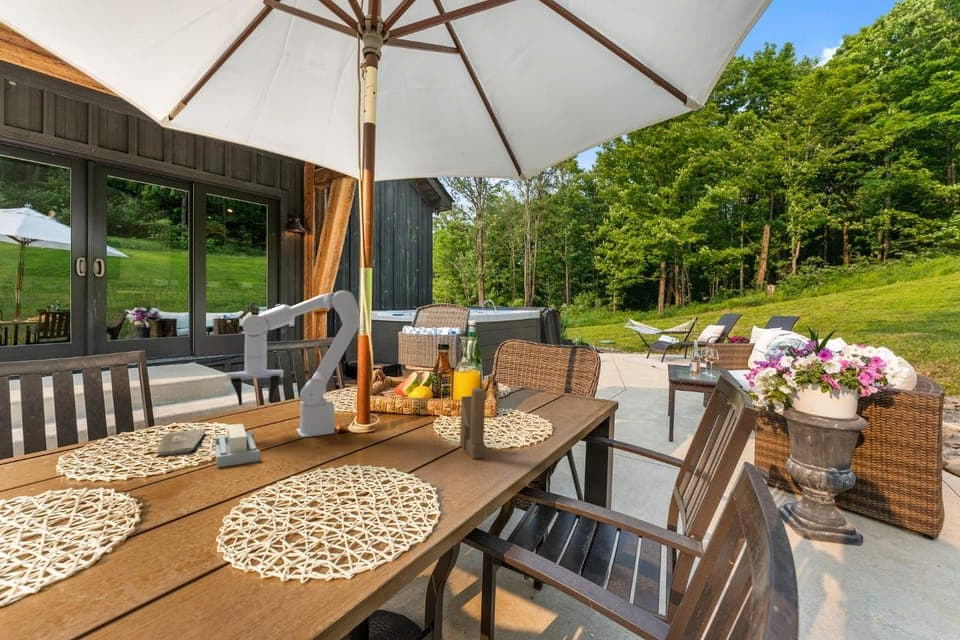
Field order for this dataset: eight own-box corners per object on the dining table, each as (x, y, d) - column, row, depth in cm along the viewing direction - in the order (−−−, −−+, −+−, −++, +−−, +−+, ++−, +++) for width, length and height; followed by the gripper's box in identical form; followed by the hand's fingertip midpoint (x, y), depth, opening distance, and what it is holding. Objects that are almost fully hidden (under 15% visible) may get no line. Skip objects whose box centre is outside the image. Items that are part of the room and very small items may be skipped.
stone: (164, 433, 121) (206, 425, 126) (165, 443, 122) (207, 435, 126) (151, 449, 105) (199, 440, 110) (152, 461, 105) (200, 451, 110)
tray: (253, 441, 119) (253, 430, 119) (259, 460, 106) (259, 448, 106) (215, 446, 114) (215, 435, 114) (217, 467, 101) (217, 455, 101)
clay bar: (227, 443, 114) (227, 425, 114) (242, 441, 116) (242, 423, 116) (230, 458, 104) (230, 438, 104) (246, 456, 106) (246, 436, 106)
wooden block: (471, 444, 123) (473, 382, 122) (485, 458, 113) (488, 390, 112) (459, 446, 122) (461, 383, 121) (472, 459, 112) (474, 391, 111)
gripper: (227, 359, 117) (227, 409, 117) (285, 357, 124) (284, 403, 125) (226, 356, 122) (225, 403, 123) (281, 354, 130) (281, 398, 131)
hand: (255, 403), depth 124 cm, fingers open, 7 cm apart
